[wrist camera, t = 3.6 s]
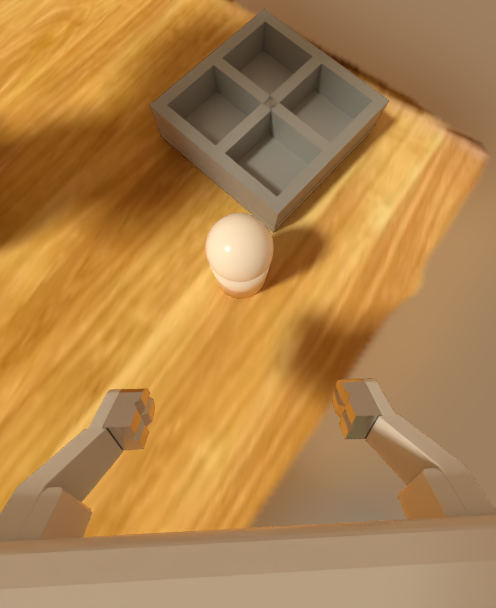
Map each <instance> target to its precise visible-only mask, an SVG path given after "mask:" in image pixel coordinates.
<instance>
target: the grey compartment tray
mask: <svg viewBox="0 0 496 608" xmlns="http://www.w3.org/2000/svg"><path fill="white" fill-rule="evenodd" d="M388 102H389V100H388V99H387V98H385V97H384V96H383V95H381V94H380V93H379V92H377V91H376V90H374V89H373V88H372V87H370V86H369V85H368V84H366V83H365V82H364V81H362V80H361V79H359V78H358V77H357V76H355V75H354V74H353V73H351V72H350V71H349V70H347V69H346V68H344V67H343V66H342V65H340V64H339V63H338V62H336V61H335V60H334V59H332V58H331V57H329V56H328V55H327V54H325V53H324V52H323V51H321V50H320V49H318V48H317V47H316V46H314V45H313V44H312V43H310V42H309V41H308V40H306V39H305V38H303V37H302V36H301V35H299V34H298V33H297V32H295V31H294V30H293V29H291V28H290V27H288V26H287V25H286V24H284V23H283V22H282V21H280V20H279V19H278V18H276V17H275V16H273V15H272V14H271V13H269V12H268V11H267V10H265V9H264V10H262V11H261V12H260V13H259V14H258V15H256V16H255V17H254V18H253V19H252V20H250V21H249V22H248V23H247V24H246V25H244V26H243V27H242V28H241V29H240V30H238V31H237V32H236V33H235V34H234V35H233V36H231V37H230V38H229V39H228V40H227V41H225V42H224V43H223V44H222V45H221V46H219V47H218V48H217V49H216V50H215V51H213V52H212V53H211V54H210V55H209V56H207V57H206V58H205V59H204V60H203V61H202V62H200V63H199V64H198V65H197V66H196V67H194V68H193V69H192V70H191V71H190V72H188V73H187V74H186V75H185V76H184V77H182V78H181V79H180V80H179V81H178V82H177V83H175V84H174V85H173V86H172V87H171V88H169V89H168V90H167V91H166V92H165V93H163V94H162V95H161V96H160V97H159V98H157V99H156V100H155V101H154V102H153V103H151V104H150V105H149V106H150V108H151V111H152V113H153V116H154V118H155V121H156V123H157V126H158V130H159V132H160V135H161V137H162V138H163V139H165V140H166V141H167V142H168V143H169V144H170V145H172V146H173V147H174V148H175V149H176V150H177V151H179V152H180V153H181V154H182V155H183V156H184V157H186V158H187V159H188V160H189V161H190V162H191V163H193V164H194V165H195V166H196V167H197V168H198V169H200V170H201V171H202V172H203V173H204V174H205V175H207V176H208V177H209V178H210V179H211V180H212V181H214V182H215V183H216V184H217V185H218V186H219V187H221V188H222V189H223V190H224V191H225V192H226V193H228V194H229V195H230V196H231V197H232V198H233V199H235V200H236V201H237V202H238V203H239V204H240V205H242V206H243V207H244V208H245V209H246V210H247V211H249V212H250V213H251V214H252V215H253V216H254V217H256V218H258V219H259V220H260V221H262V222H263V223H264V224H265V225H266V227H267V228H268V229H270V230H271V231H272V232H273V233H274V232H275V231H276V230H277V229H278V227H279V226H280V225H281V224H282V223H283V222H284V221H285V220H286V219H287V218H288V217H289V216H290V215H291V214H292V213H293V212H294V211H295V210H296V209H297V208H298V207H299V206H300V205H301V204H302V203H303V202H304V201H305V200H306V199H307V198H308V197H309V195H310V194H311V193H312V192H313V191H314V190H315V189H316V188H317V187H318V186H319V185H320V184H321V183H322V182H323V181H324V180H325V179H326V178H327V177H328V176H329V175H330V174H331V173H332V172H333V171H334V170H335V169H336V168H337V167H338V166H339V165H340V163H341V162H342V161H343V160H344V159H345V158H346V157H347V156H348V155H349V154H350V153H351V152H352V151H353V150H354V149H355V148H356V147H357V146H358V145H359V144H360V143H361V142H362V141H363V140H364V139H365V138H366V137H367V136H368V135H369V134H370V133H371V131H372V130H373V128H374V126H375V125H376V122H377V120H378V119H379V117H380V115H381V114H382V112H383V110H384V109H385V107H386V105H387V104H388Z"/></svg>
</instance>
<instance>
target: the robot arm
mask: <svg viewBox="0 0 496 608" xmlns="http://www.w3.org/2000/svg"><path fill="white" fill-rule="evenodd" d="M336 387H337V389H336V390H335V391H333V395H332V402H333V407H334V410H335V413H336V414H337V415H338V416H339V417H340V418H341V420H340V423H339V424H340V427H341V429H342V432H343V435H344V438H345V439H366V441H367V443H368V444H369V445H370V446H371V447H372V448H373V449H374V450H375V451H376V452H377V453H378V454H379V455H380V456H381V457H382V459H383V460H384V461H385V462H386V463H387V464H388V465H389V466H390V467H391V468H392V469H393V470H394V472H395V473H396V474H397V475H398V476H399V477H400V478H401V479H402V480H403V481H404V482H405V483H406V484H407V486H406V487H405V488H404V489H403V490H402V491H401V492H400V493H399V495H398V499H399V501H400V503H401V506H402V508H403V510H404V512H405V515H406V517H407V519H405V520H389V521H388V520H387V521H370V522H369V521H368V522H351V523H333V524H314V525H297V526H277V527H259V528H241V529H223V530H204V531H186V532H168V533H150V534H131V535H113V536H95V537H83V536H84V534H85V531H86V528H87V525H88V523H89V520H90V517H91V515H92V512H91V509H90V508H88V507H87V506H86V505H84V504H83V503H82V501H83V500H84V499H85V497H86V496H87V495H88V494H89V493H90V491H91V490H92V489H93V488H94V486H95V485H96V484H97V483H98V482H99V480H100V479H101V478H102V477H103V476H104V474H105V473H106V472H107V471H108V469H109V468H110V467H111V466H112V465H113V463H114V462H115V461H116V460H117V459H118V457H119V456H120V455H121V454H122V452H123V451H124V450H137V449H144V447H145V444H146V440H147V437H148V434H149V431H148V428H147V426H148V425H149V424H150V423H151V422H152V420H153V417H154V411H155V405H154V401H153V399H152V398H150V397H149V395H150V392H149V390H148V388H145V389H112V390H109V391H108V392H107V393H106V395H105V397H104V399H103V401H102V403H101V405H100V407H99V409H98V411H97V413H96V415H95V417H94V419H93V421H92V422H91V424H90V426H89V428H88V429H84V430H83V431H82V432H81V433H80V434H78V435H77V436H76V437H75V438H74V439H73V440H71V441H70V442H69V443H68V444H67V445H66V446H64V447H63V448H62V449H61V450H60V451H59V452H58V453H56V454H55V455H54V456H53V457H52V458H51V459H49V460H48V461H47V462H46V463H45V464H44V465H43V466H41V467H40V468H39V469H38V470H37V471H36V472H34V473H33V474H32V475H31V476H30V477H29V478H27V479H26V480H25V481H24V482H23V483H22V484H21V485H19V486H18V487H17V488H16V490H15V491H14V493H13V495H12V496H11V498H10V499H9V501H8V503H7V504H6V506H5V507H4V509H3V511H2V512H1V514H0V608H496V509H495V507H494V506H493V504H492V503H491V501H490V500H489V498H488V497H487V496H486V494H485V493H484V492H483V490H482V488H481V487H480V485H479V484H478V483H477V481H476V480H475V478H474V477H473V475H472V474H471V473H470V471H469V470H468V468H467V467H466V465H464V464H463V463H462V462H460V461H459V460H458V459H456V458H455V457H454V456H453V455H451V454H450V453H449V452H447V451H446V450H445V449H443V448H442V447H441V446H439V445H438V444H437V443H436V442H434V441H433V440H432V439H430V438H429V437H428V436H426V435H425V434H424V433H423V432H421V431H420V430H419V429H417V428H416V427H415V426H413V425H412V424H411V423H410V422H408V421H407V420H406V419H404V418H403V417H402V416H401V415H396V414H395V412H394V410H393V409H392V407H391V405H390V404H389V402H388V400H387V398H386V397H385V395H384V393H383V391H382V390H381V388H380V386H379V385H378V383H377V381H376V380H375V379H372V378H370V379H347V380H338V381H337V382H336Z"/></svg>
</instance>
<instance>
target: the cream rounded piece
mask: <svg viewBox="0 0 496 608" xmlns="http://www.w3.org/2000/svg"><path fill="white" fill-rule="evenodd" d="M273 252H274V244H273V239H272V236H271V233H270V231H269V230H268V228H267V227H266V225H265V224H264V223H263V222H262V221H260V220H259V219H258V218H256V217H254V216H252V215H249V214H245V213H234V214H230V215H227V216H225V217H223V218H221V219H220V220H219V221H217V222H216V223H215V224H214V225H213V227H212V228H211V230H210V232H209V234H208V236H207V240H206V255H207V259H208V262H209V264H210V267H211V269H212V271H213V273H214V275H215V278H216V280H217V282H218V284H219V286H220V288H221V289H222V290H223V292H225V293H226V294H227V295H229V296H231V297H233V298H238V299H244V298H249V297H251V296H253V295H255V294H256V293H258V292H259V291H260V290H261V288H262V287H263V285H264V282H265V279H266V276H267V273H268V270H269V267H270V264H271V261H272V258H273Z"/></svg>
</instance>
